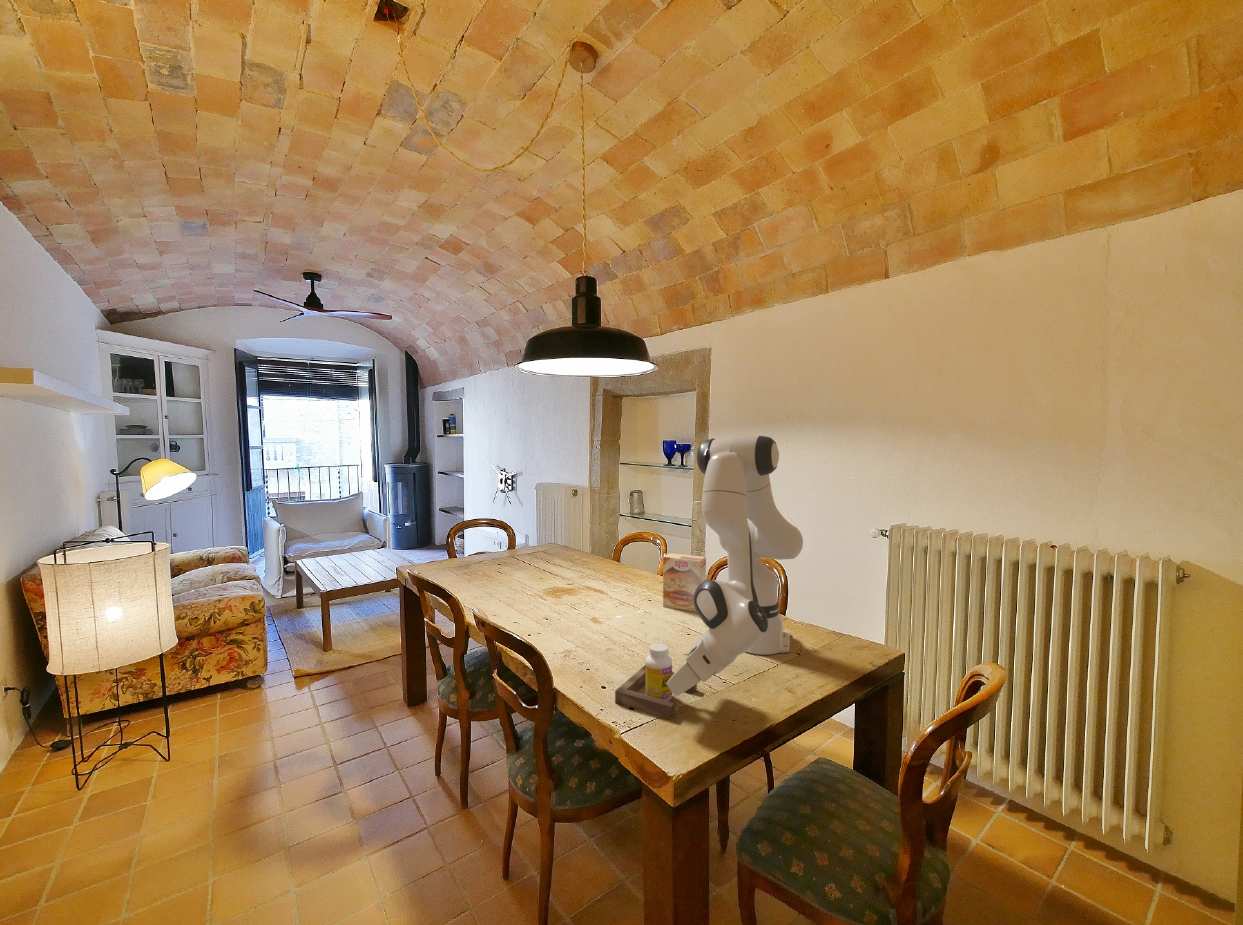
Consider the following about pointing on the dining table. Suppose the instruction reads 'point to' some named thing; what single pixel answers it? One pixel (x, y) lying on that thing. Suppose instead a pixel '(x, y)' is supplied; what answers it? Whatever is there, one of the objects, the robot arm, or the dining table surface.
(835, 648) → the dining table surface
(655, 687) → the supplement bottle
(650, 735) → the dining table surface
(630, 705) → the bay
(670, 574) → the coffeecake box
